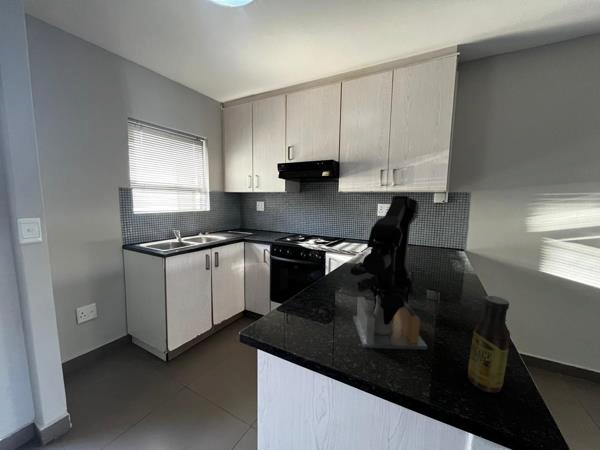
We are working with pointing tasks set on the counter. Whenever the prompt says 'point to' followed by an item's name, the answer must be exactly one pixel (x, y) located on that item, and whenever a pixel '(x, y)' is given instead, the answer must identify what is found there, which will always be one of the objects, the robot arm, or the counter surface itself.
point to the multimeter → (358, 269)
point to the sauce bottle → (490, 346)
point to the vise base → (374, 340)
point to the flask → (380, 321)
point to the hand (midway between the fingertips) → (381, 316)
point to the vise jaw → (408, 323)
